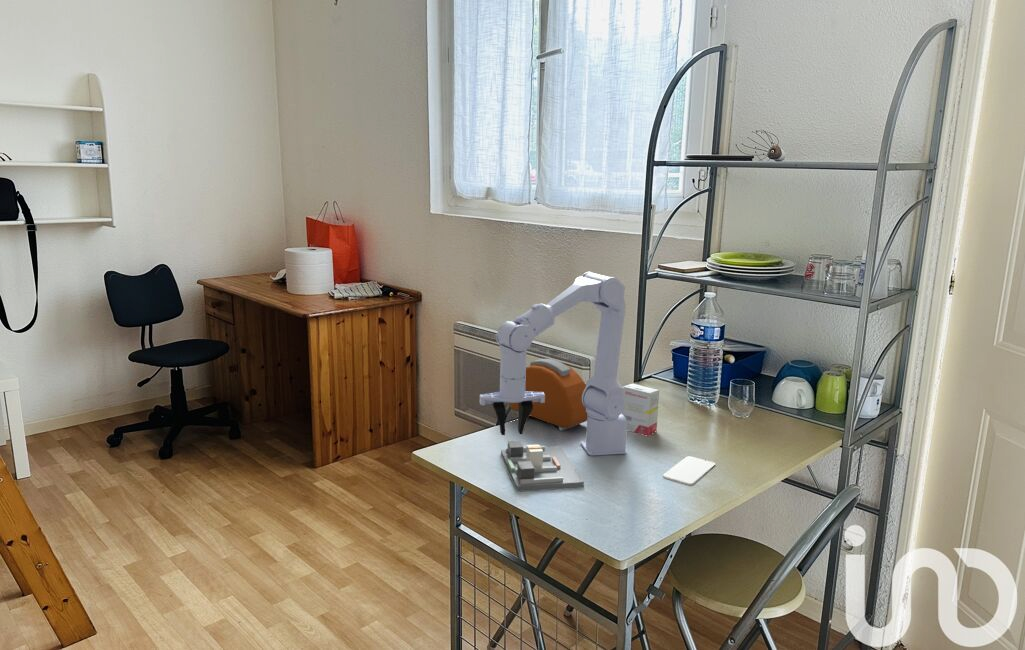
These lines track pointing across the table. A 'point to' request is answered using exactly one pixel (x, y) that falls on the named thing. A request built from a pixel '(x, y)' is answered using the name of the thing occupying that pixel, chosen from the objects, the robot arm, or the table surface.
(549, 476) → the breaker board
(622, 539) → the table surface
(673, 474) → the smartphone
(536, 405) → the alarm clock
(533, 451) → the handle
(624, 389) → the ink box
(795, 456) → the table surface
